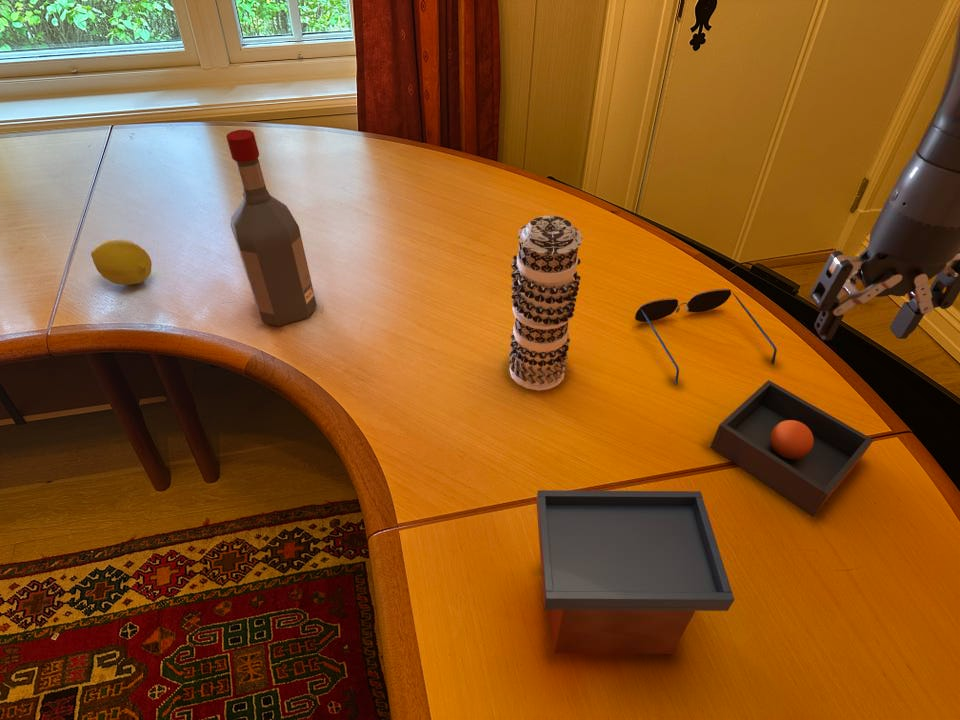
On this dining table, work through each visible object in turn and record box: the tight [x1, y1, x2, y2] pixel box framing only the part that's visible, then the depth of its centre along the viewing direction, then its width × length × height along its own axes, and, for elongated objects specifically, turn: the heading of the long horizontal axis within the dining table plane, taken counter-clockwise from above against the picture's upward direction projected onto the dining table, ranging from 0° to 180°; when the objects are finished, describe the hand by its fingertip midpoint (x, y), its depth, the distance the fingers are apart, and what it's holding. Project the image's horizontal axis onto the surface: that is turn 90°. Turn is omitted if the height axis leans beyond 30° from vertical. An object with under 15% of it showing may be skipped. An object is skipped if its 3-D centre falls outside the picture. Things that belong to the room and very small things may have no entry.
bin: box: [709, 379, 874, 517], centre depth 79 cm, size 14×12×5 cm
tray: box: [535, 489, 735, 612], centre depth 56 cm, size 16×11×2 cm
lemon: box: [90, 238, 153, 286], centre depth 106 cm, size 11×8×8 cm
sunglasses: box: [634, 288, 778, 386], centre depth 95 cm, size 17×15×5 cm
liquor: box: [226, 129, 317, 327], centre depth 93 cm, size 9×9×30 cm
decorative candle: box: [508, 215, 584, 391], centre depth 83 cm, size 9×9×25 cm
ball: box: [770, 420, 814, 459], centre depth 78 cm, size 5×5×5 cm
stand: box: [550, 610, 696, 655], centre depth 61 cm, size 12×9×12 cm
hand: (860, 334), depth 68 cm, fingers open, 8 cm apart
